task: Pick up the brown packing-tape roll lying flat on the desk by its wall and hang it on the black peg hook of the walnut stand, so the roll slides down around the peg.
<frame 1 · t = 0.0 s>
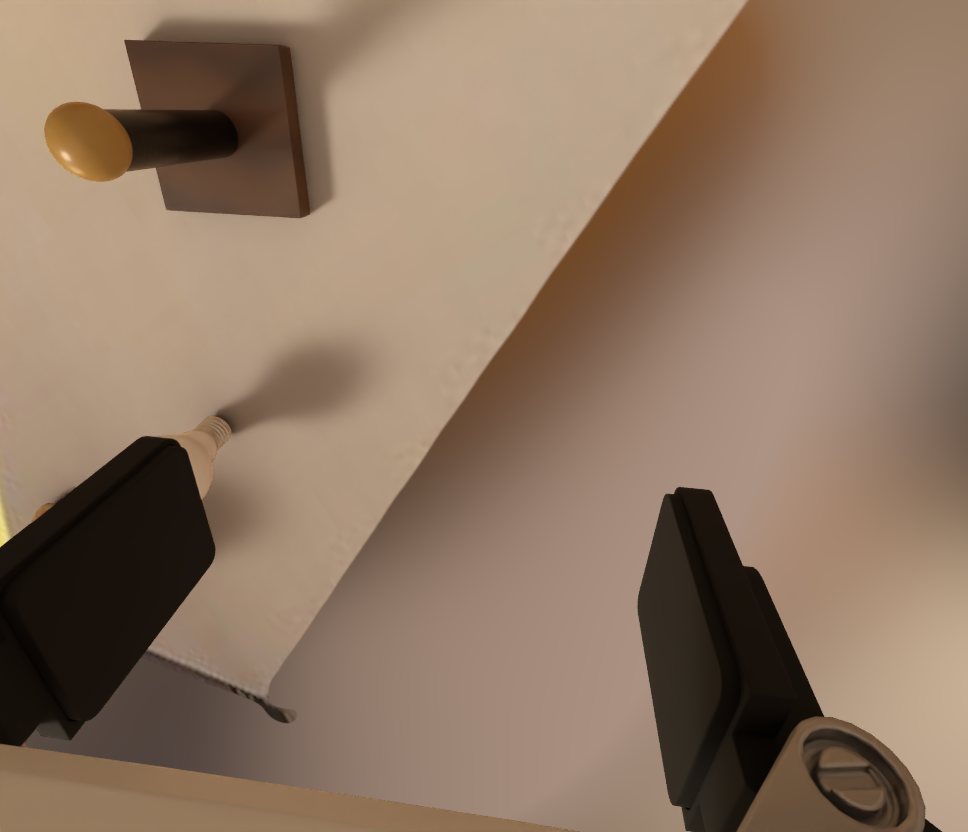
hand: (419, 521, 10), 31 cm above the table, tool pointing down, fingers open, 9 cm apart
lightbulb: (222, 424, 49), on the table
hook peg: (154, 138, 30), on the hook base, point 8 cm above the table
hook base: (230, 133, 37), on the table
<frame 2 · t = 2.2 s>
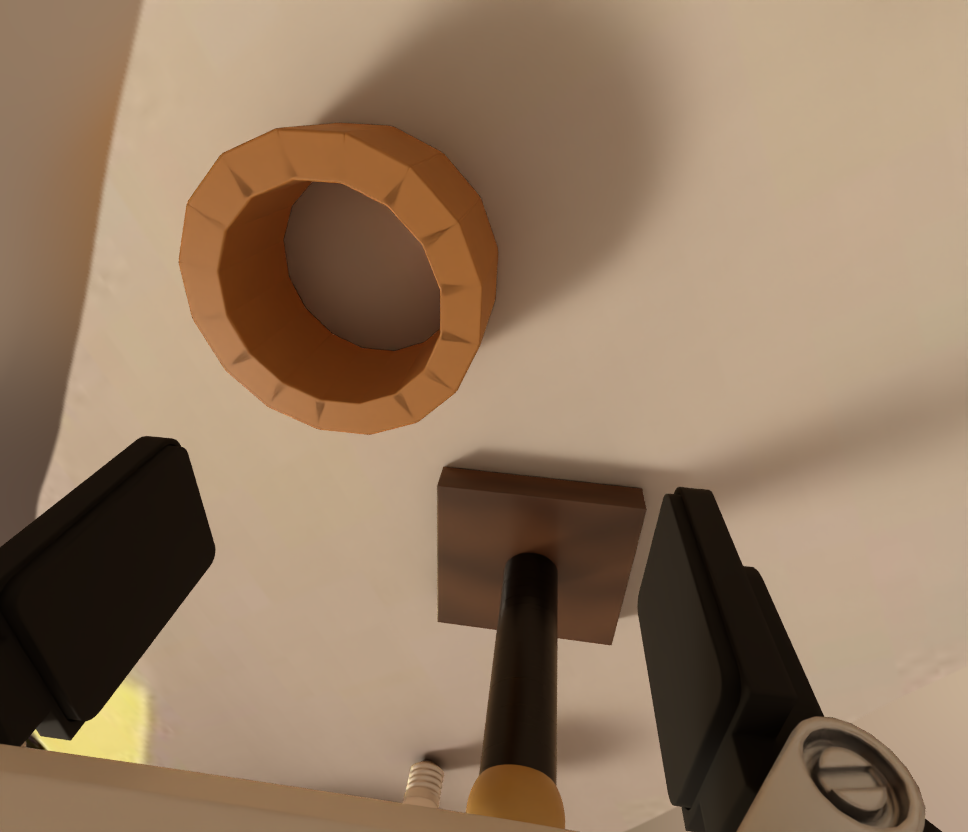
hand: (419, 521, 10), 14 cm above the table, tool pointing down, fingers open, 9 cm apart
lightbulb: (429, 760, 42), on the table
hook peg: (523, 687, 22), on the hook base, point 8 cm above the table
tape roll: (373, 265, 22), on the table
hook base: (532, 549, 29), on the table
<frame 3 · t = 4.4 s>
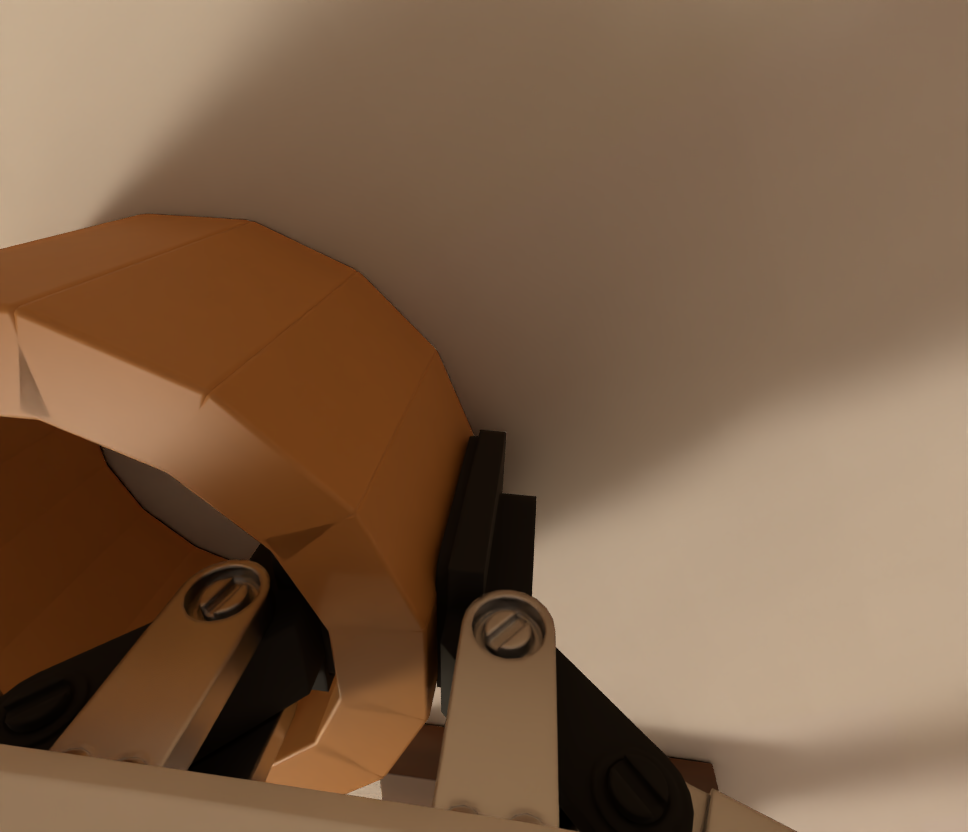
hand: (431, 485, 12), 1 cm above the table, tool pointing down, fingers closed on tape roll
tape roll: (250, 452, 12), on the table, touching gripper
hook base: (535, 818, 19), on the table
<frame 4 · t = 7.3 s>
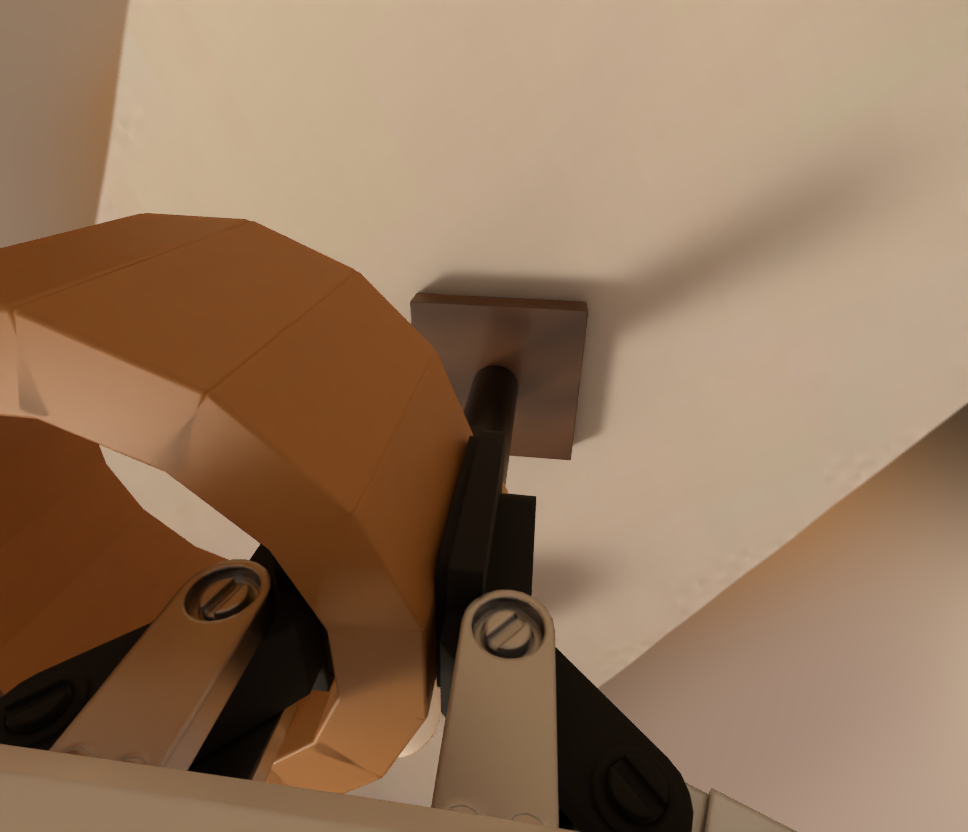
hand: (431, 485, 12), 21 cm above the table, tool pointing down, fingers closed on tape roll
lightbulb: (421, 618, 46), on the table
hook peg: (482, 443, 27), on the hook base, point 8 cm above the table
tape roll: (250, 451, 12), point 21 cm above the table, touching gripper
hook base: (497, 374, 34), on the table
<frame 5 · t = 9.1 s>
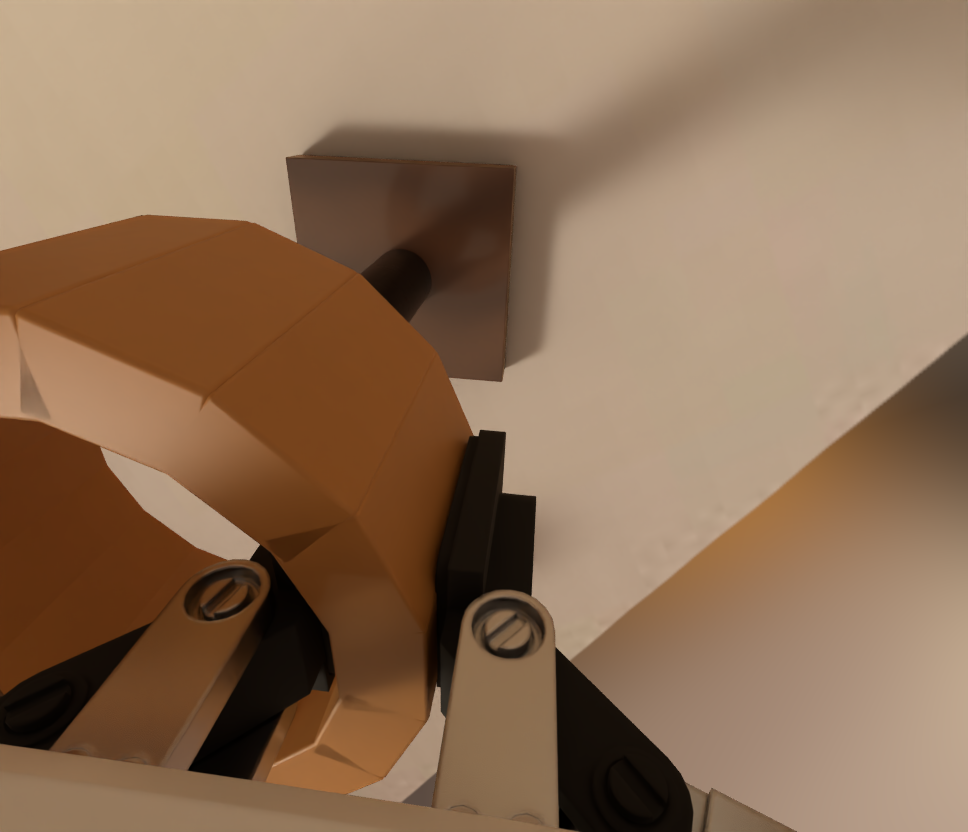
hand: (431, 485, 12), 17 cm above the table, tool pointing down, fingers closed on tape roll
hook peg: (359, 326, 20), on the hook base, point 8 cm above the table
tape roll: (251, 452, 12), point 17 cm above the table, touching gripper
hook base: (410, 270, 27), on the table
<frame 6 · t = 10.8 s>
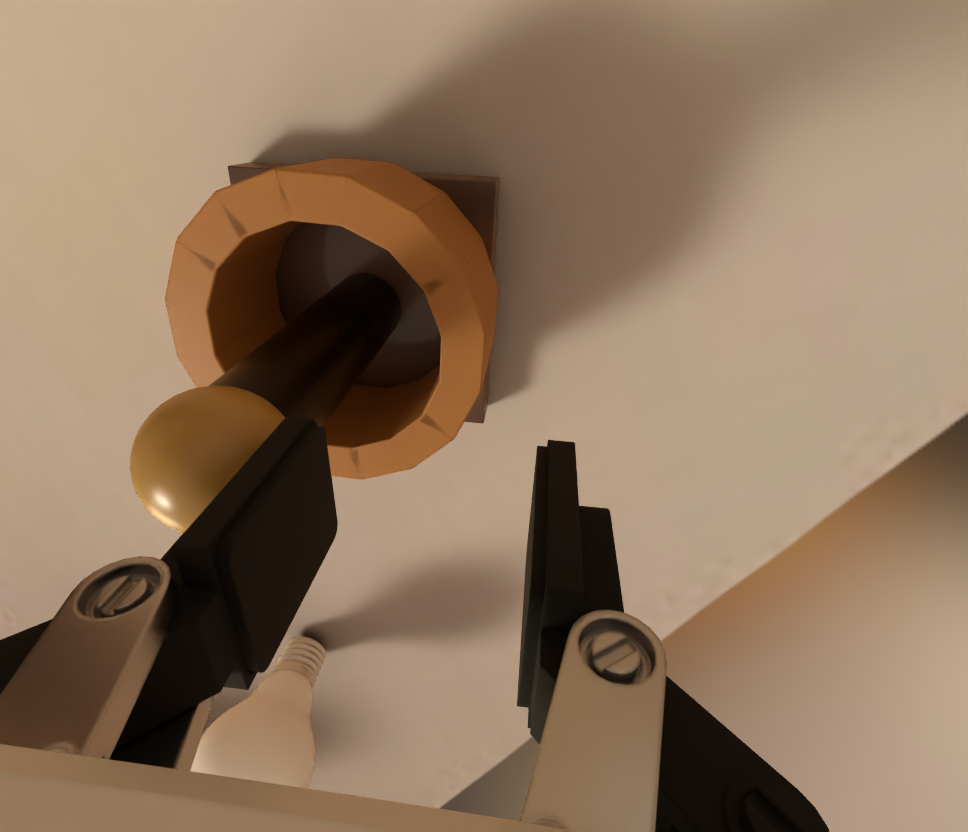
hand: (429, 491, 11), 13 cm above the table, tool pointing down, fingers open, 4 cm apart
lightbulb: (311, 639, 36), on the table
hook peg: (304, 373, 16), on the hook base, point 8 cm above the table
tape roll: (369, 301, 22), point 2 cm above the table, touching hook base
hook base: (378, 295, 23), on the table
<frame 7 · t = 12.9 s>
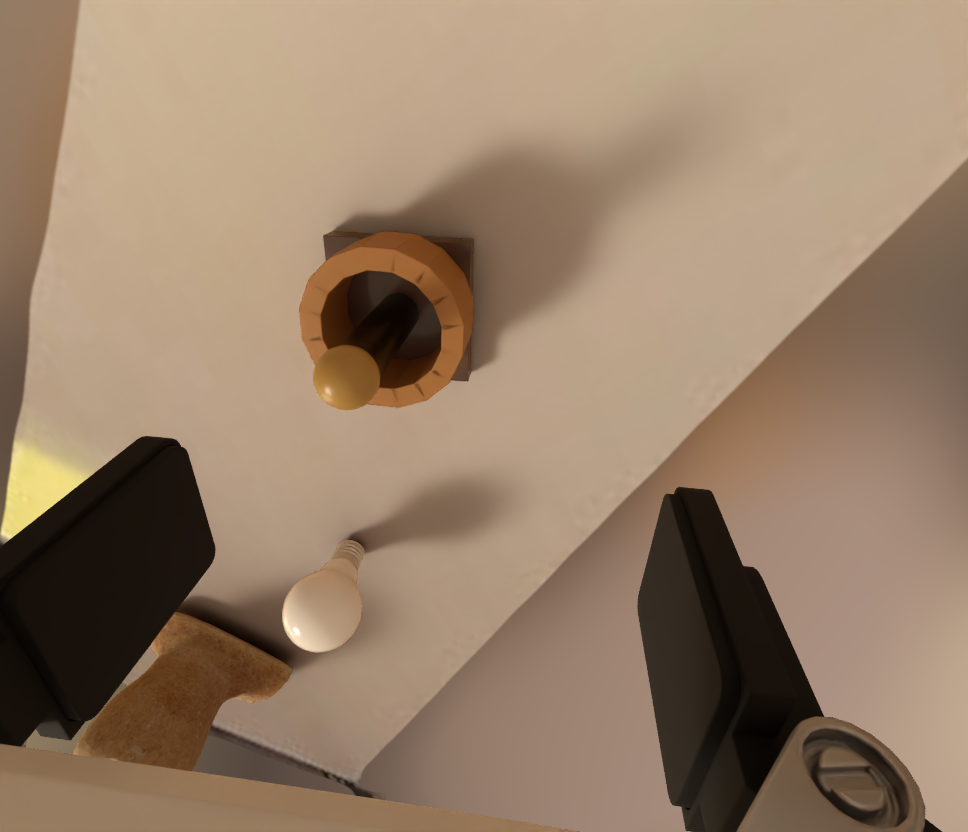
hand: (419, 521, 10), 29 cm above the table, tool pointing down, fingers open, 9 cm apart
lightbulb: (353, 544, 51), on the table
hook peg: (373, 345, 32), on the hook base, point 8 cm above the table
tape roll: (400, 308, 38), point 2 cm above the table, touching hook base
hook base: (404, 305, 39), on the table
brown boot: (223, 648, 61), on the table
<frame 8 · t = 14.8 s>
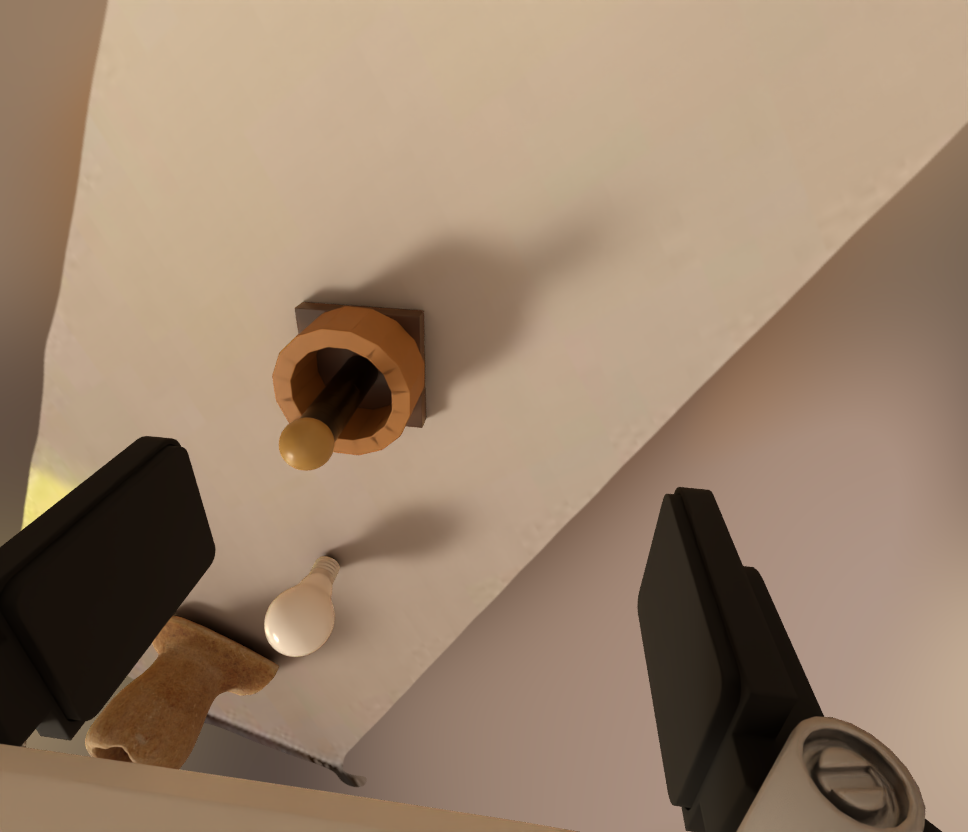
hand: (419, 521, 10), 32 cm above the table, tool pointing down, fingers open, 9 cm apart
lightbulb: (330, 559, 58), on the table
hook peg: (333, 408, 38), on the hook base, point 8 cm above the table
tape roll: (362, 368, 44), point 2 cm above the table, touching hook base
hook base: (367, 362, 45), on the table
brown boot: (217, 647, 68), on the table
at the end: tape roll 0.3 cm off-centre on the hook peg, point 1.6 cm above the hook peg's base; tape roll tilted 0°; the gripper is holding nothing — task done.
